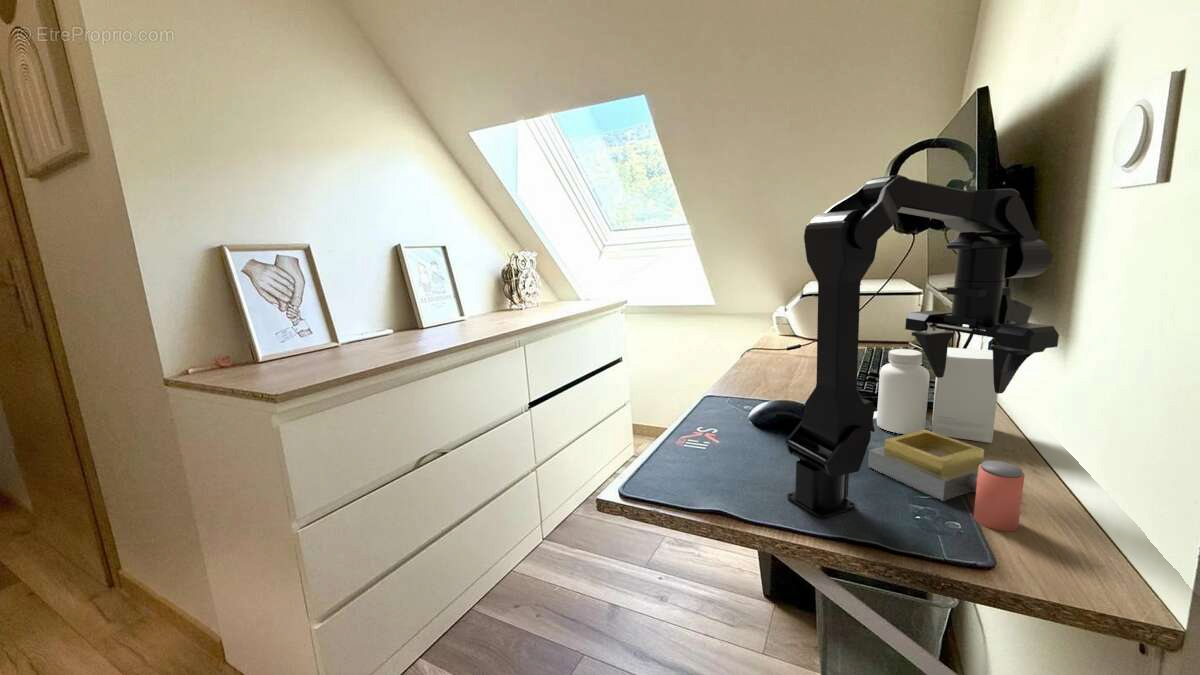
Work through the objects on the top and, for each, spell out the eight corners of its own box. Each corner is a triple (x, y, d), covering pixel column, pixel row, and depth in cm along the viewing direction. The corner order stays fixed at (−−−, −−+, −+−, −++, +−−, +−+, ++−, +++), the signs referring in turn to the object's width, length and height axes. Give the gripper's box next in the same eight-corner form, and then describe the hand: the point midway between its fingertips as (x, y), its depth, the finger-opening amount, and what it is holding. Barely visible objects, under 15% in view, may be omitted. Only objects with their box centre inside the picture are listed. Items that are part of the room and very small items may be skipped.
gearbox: (965, 512, 66) (969, 477, 65) (867, 467, 80) (869, 438, 79) (1022, 491, 70) (1026, 458, 69) (920, 452, 84) (922, 424, 83)
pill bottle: (883, 435, 92) (888, 356, 89) (871, 420, 100) (875, 347, 97) (932, 437, 90) (938, 356, 87) (915, 422, 98) (921, 347, 95)
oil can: (1003, 535, 61) (1010, 478, 59) (965, 517, 65) (970, 464, 64) (1026, 526, 62) (1033, 471, 61) (987, 509, 67) (993, 457, 65)
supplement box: (993, 444, 86) (1002, 360, 83) (931, 435, 91) (938, 355, 88) (989, 427, 93) (997, 349, 91) (932, 420, 98) (938, 345, 96)
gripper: (1096, 281, 65) (1079, 396, 68) (960, 274, 83) (951, 366, 86) (1033, 286, 62) (1018, 405, 65) (906, 278, 80) (898, 372, 83)
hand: (967, 384), depth 75 cm, fingers open, 9 cm apart
